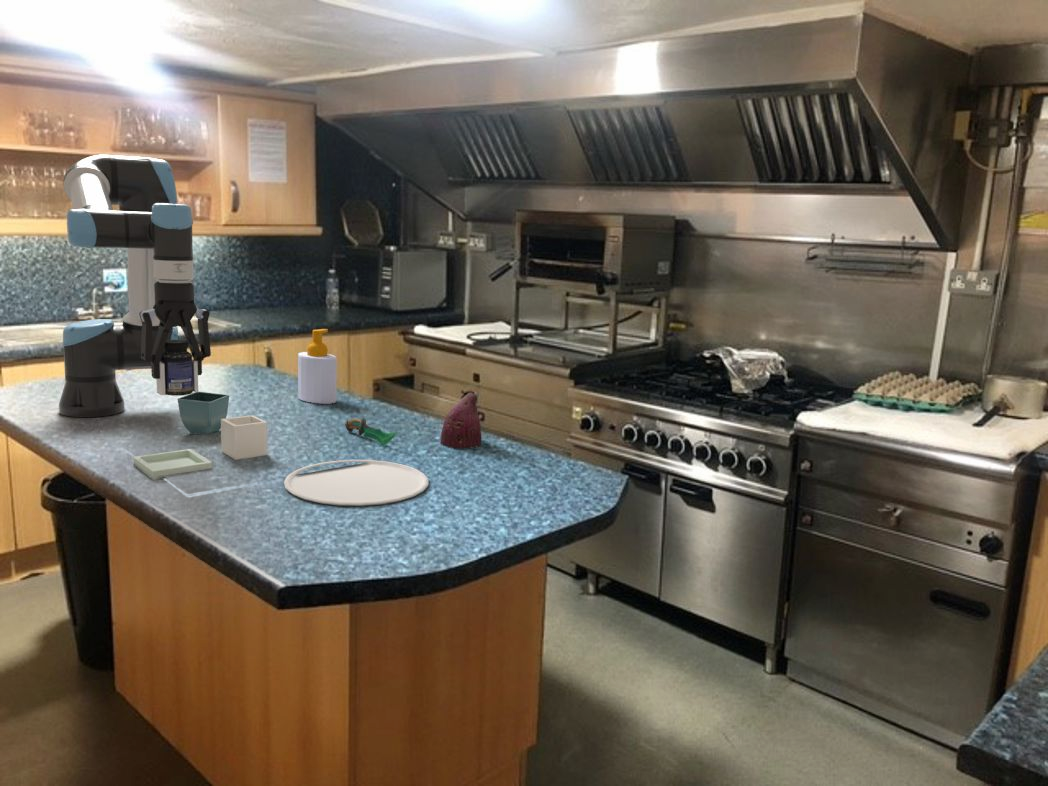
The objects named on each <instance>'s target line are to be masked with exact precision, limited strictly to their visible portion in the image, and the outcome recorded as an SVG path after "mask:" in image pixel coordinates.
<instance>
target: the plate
mask: <svg viewBox="0 0 1048 786" xmlns="http://www.w3.org/2000/svg"><path fill="white" fill-rule="evenodd" d="M354 462H355V463H356V462H357V463H356V464H350V465H345V466H338V467H334V468H328V469H322V470H317V471H311V472H304V473H300V472H303V471H305V470H308V469H310V468H311V469H312V468H315V467H319V466H323V465H329V464H337V463H354ZM359 462H360V463H359ZM299 473H300V474H299ZM283 485H284V488H285V490H286V491H287V492H289V493H291V494H292V495H293V496H295V497H297V498H300V499H302V500H304V501H305V500H306V501H309V502H314V503H318V504H323V505H333V506H346V507H349V506H350V507H364V506H365V507H367V506H376V505H377V506H378V505H386V504H392V503H397V502H400V501H404V500H407V499H411V498H414V497H415V496H418V495H419V494H421V493H423V492H424V491H425V490H426V489H427V488H428V487H429V478H428V476H426V474H425V473H423V472H422V471H421V470H418V469H417V468H415V467H411V466H408V465H405V464H401V463H396V462H392V461H384V460H377V459H376V460H374V459H341V460H340V459H339V460H333V461H325V462H323V461H322V462H319V463H314V464H311V465H306V466H303V467H301V468H298V469H296V470H294V471H292V472H291V473H290V474H288V475H286V477H285V479H284V480H283Z"/></svg>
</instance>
